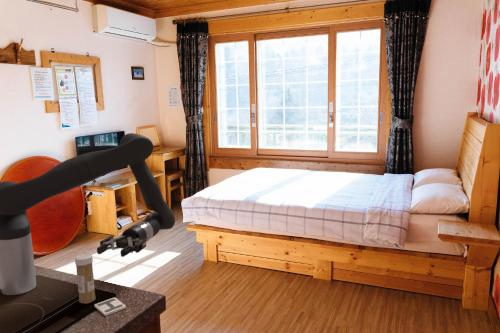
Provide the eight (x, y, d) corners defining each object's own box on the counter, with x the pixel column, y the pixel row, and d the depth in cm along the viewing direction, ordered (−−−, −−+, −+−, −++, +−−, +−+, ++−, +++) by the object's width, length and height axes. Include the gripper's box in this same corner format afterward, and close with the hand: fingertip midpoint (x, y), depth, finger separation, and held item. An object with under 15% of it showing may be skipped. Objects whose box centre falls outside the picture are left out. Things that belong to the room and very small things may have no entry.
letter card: (94, 306, 111) (94, 304, 111) (114, 299, 115) (114, 297, 115) (105, 316, 106) (105, 314, 106) (126, 308, 110) (126, 305, 110)
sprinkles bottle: (97, 301, 114) (93, 256, 112) (80, 305, 112) (76, 260, 109) (93, 294, 118) (90, 251, 116) (77, 299, 115) (73, 255, 113)
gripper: (119, 223, 140) (89, 239, 125) (155, 226, 136) (128, 243, 121) (121, 243, 142) (91, 261, 126) (157, 246, 138) (130, 266, 123)
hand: (109, 252), depth 124 cm, fingers open, 8 cm apart
